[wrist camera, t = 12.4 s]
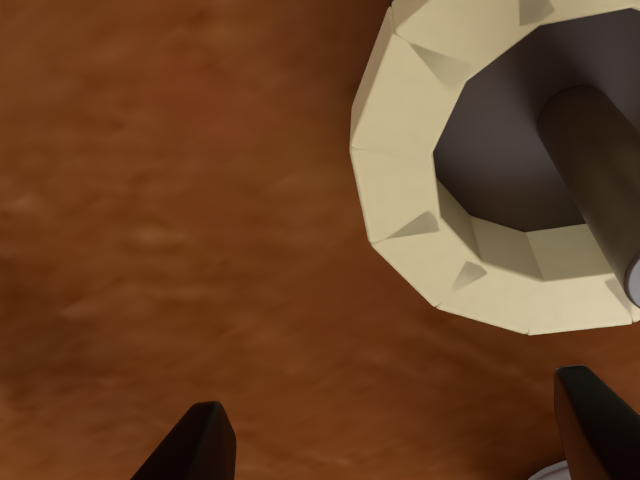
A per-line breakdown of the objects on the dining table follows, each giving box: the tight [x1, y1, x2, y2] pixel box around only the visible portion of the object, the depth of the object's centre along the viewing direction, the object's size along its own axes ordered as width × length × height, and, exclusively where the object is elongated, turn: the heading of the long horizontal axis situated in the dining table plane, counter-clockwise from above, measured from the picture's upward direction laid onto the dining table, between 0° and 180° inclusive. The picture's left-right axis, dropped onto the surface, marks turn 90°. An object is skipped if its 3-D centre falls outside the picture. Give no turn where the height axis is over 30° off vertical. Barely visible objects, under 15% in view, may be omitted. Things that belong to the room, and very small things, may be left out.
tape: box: [349, 0, 640, 335], centre depth 16 cm, size 11×11×2 cm
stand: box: [389, 0, 640, 308], centre depth 14 cm, size 9×9×8 cm
